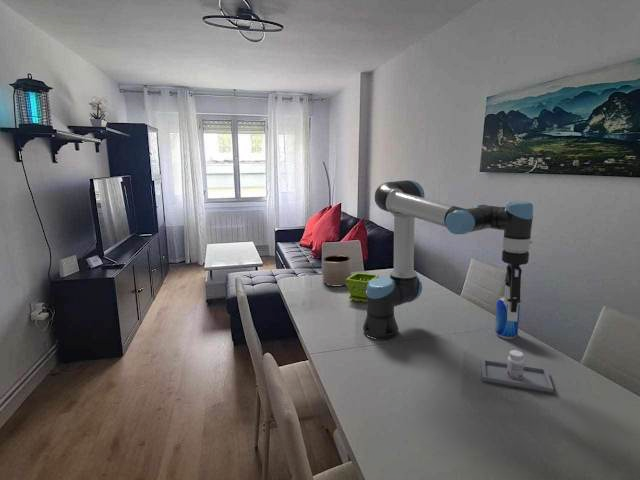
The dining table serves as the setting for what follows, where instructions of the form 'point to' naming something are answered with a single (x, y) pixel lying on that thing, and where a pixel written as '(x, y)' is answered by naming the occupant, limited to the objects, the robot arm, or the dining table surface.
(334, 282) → the planter
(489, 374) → the rest tray
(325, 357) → the dining table surface
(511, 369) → the pill bottle
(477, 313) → the dining table surface
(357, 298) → the flower pot
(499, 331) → the beer can
